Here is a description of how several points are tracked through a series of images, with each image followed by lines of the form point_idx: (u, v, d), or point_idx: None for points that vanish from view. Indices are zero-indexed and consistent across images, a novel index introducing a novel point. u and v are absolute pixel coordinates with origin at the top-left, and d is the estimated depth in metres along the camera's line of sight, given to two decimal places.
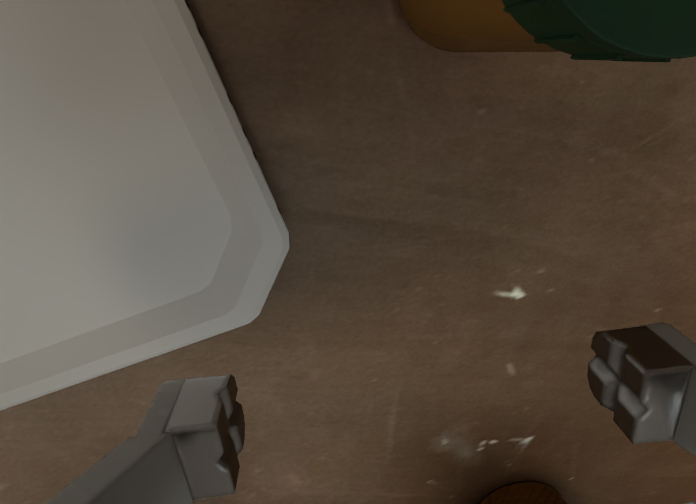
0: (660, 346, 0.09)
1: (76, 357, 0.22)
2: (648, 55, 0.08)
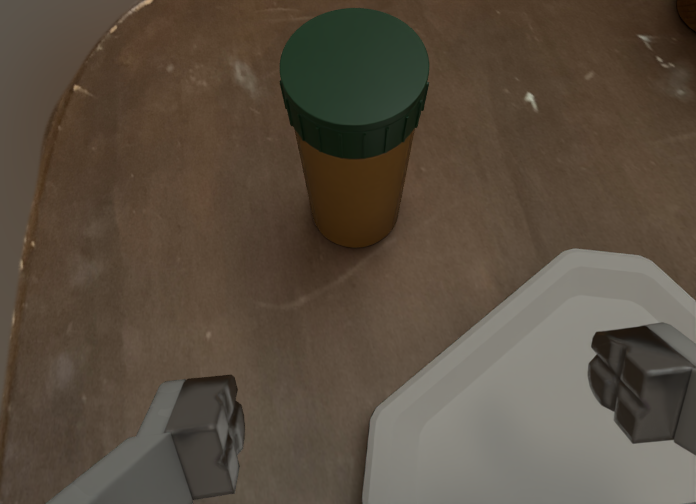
0: (660, 346, 0.09)
1: None
2: (426, 51, 0.18)
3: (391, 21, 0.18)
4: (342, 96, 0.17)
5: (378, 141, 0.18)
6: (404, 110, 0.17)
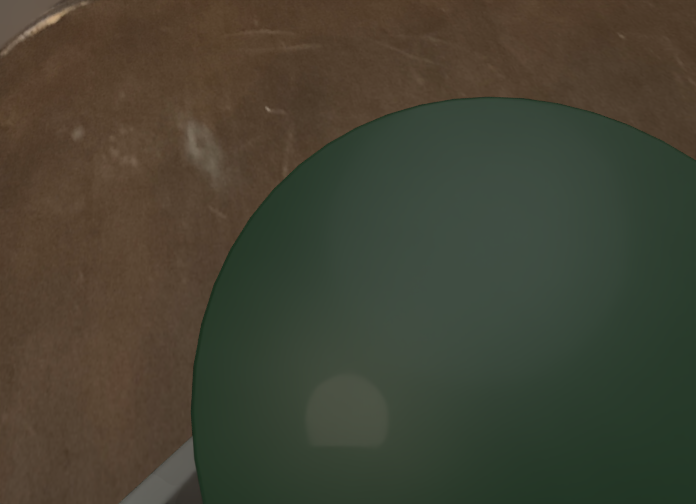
0: None
1: None
2: None
3: (644, 155, 0.05)
4: None
5: None
6: None
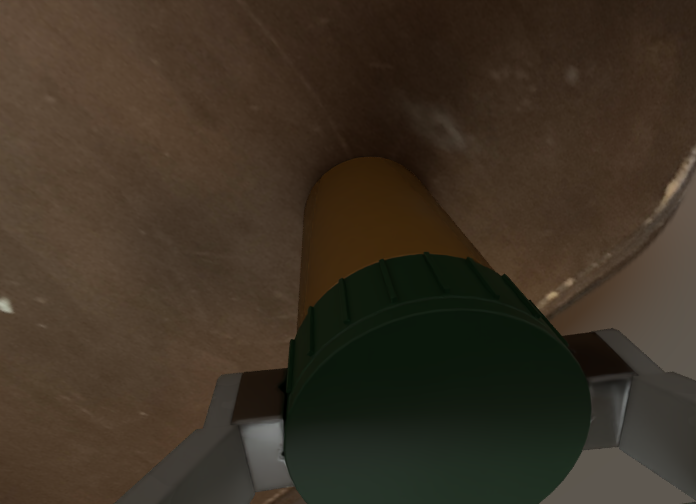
0: (605, 353, 0.09)
1: None
2: None
3: None
4: (425, 374, 0.08)
5: (323, 322, 0.09)
6: (293, 402, 0.08)
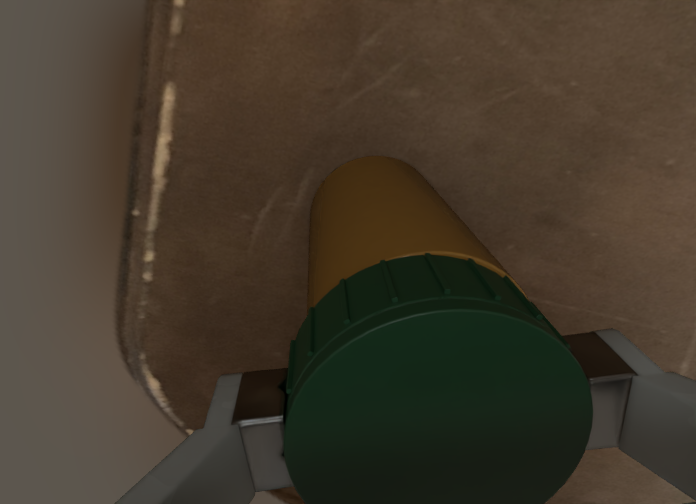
0: (605, 353, 0.09)
1: None
2: None
3: None
4: (426, 376, 0.08)
5: (323, 322, 0.09)
6: (293, 403, 0.08)
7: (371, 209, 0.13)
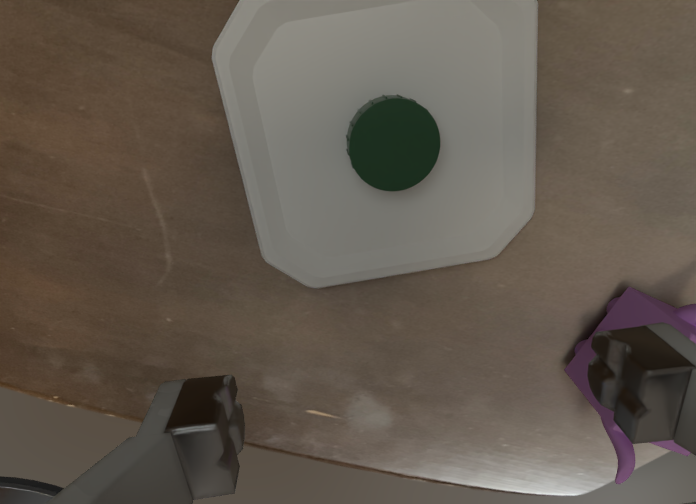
0: (660, 346, 0.09)
1: None
2: None
3: (383, 185, 0.30)
4: (393, 120, 0.28)
5: (363, 108, 0.29)
6: (354, 124, 0.28)
7: None
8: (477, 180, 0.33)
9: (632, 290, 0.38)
